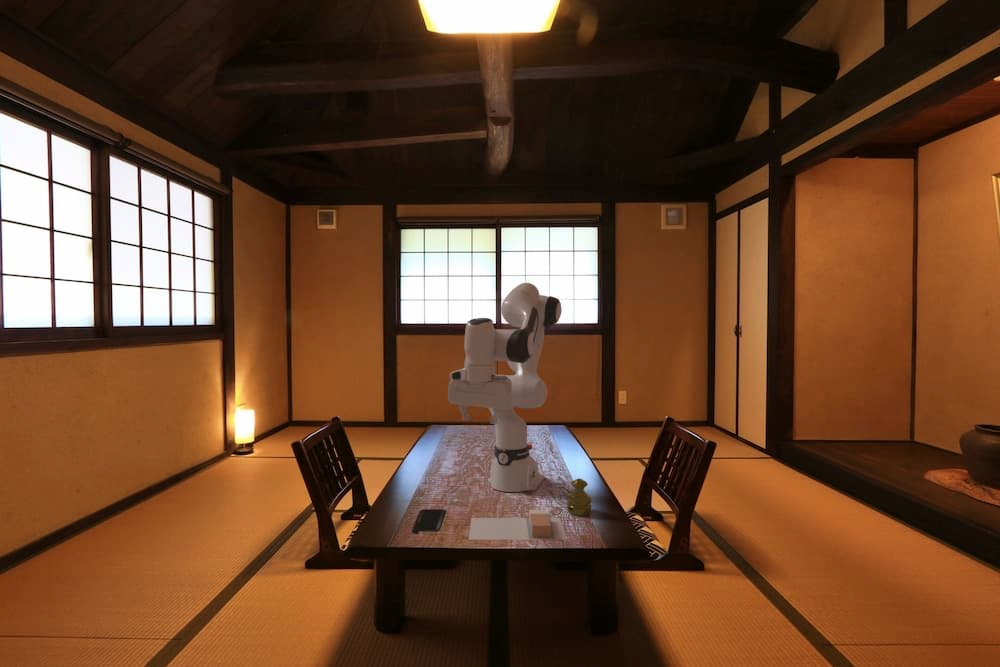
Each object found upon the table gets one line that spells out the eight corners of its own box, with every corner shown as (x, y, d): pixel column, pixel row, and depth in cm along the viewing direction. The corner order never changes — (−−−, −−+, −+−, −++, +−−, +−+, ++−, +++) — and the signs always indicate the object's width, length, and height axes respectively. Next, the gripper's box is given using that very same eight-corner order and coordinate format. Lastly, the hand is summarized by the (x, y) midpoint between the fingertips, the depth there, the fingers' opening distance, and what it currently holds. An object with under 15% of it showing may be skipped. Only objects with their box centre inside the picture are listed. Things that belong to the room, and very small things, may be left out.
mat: (471, 520, 144) (471, 517, 144) (560, 520, 144) (560, 517, 144) (468, 541, 130) (468, 539, 130) (566, 541, 130) (566, 539, 130)
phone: (446, 509, 150) (439, 530, 135) (446, 513, 150) (439, 534, 135) (420, 509, 150) (410, 530, 135) (420, 512, 150) (410, 534, 135)
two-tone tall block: (550, 536, 131) (550, 525, 131) (532, 536, 131) (532, 525, 131) (546, 519, 142) (546, 509, 142) (529, 519, 142) (529, 509, 142)
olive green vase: (578, 518, 145) (578, 485, 145) (562, 510, 152) (562, 478, 151) (596, 513, 149) (596, 480, 149) (580, 505, 155) (580, 474, 155)
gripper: (516, 375, 140) (516, 423, 140) (457, 371, 150) (457, 416, 150) (505, 377, 134) (505, 427, 135) (444, 373, 144) (444, 420, 145)
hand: (479, 421), depth 142 cm, fingers open, 8 cm apart
